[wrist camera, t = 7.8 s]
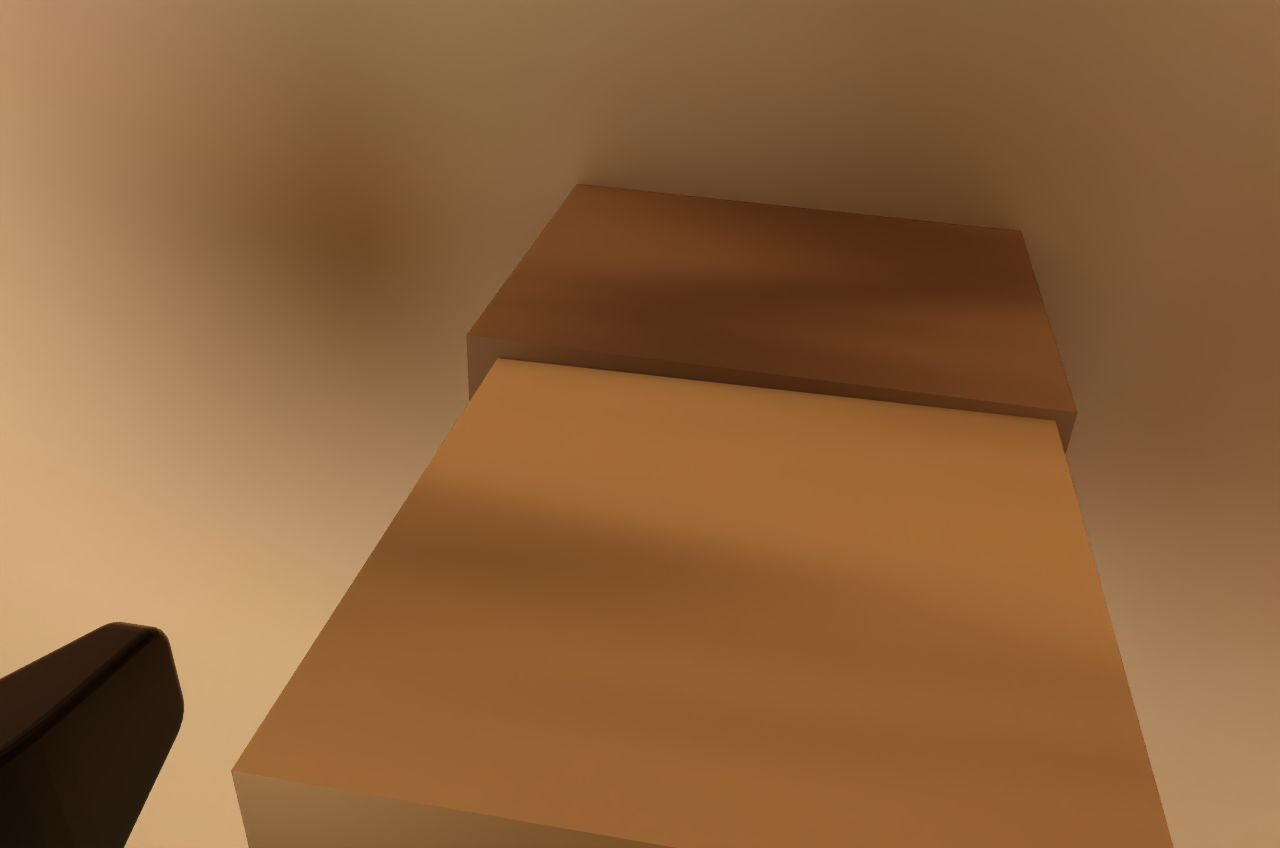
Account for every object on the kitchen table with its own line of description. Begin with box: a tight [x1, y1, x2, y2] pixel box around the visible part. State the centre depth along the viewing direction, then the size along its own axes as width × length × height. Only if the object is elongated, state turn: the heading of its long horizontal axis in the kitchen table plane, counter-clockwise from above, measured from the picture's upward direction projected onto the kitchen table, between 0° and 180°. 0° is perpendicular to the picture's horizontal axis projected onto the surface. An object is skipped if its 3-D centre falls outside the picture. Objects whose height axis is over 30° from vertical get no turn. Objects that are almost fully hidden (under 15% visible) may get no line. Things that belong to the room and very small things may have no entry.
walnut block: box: [467, 184, 1077, 454], centre depth 12 cm, size 5×5×4 cm
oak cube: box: [231, 358, 1174, 848], centre depth 8 cm, size 4×4×4 cm
